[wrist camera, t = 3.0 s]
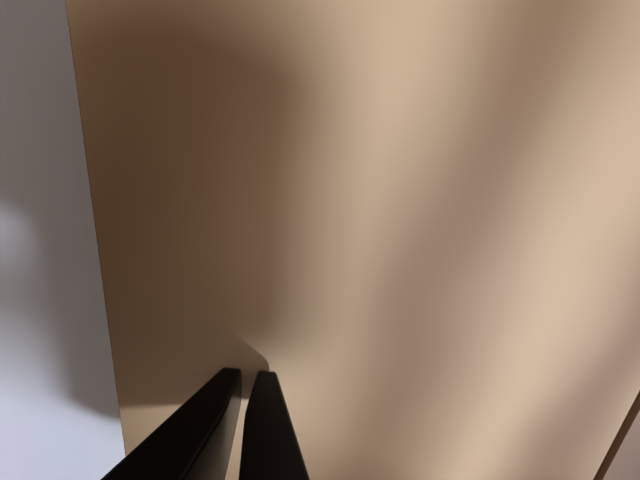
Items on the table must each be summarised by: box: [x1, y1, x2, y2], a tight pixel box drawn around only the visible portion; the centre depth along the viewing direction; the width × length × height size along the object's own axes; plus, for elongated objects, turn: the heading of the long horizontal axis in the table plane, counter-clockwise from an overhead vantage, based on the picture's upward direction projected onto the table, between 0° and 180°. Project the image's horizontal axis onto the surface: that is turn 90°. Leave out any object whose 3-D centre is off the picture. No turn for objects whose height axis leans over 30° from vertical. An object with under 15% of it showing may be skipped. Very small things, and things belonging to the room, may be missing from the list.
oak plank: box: [65, 0, 640, 480], centre depth 10 cm, size 14×17×2 cm
